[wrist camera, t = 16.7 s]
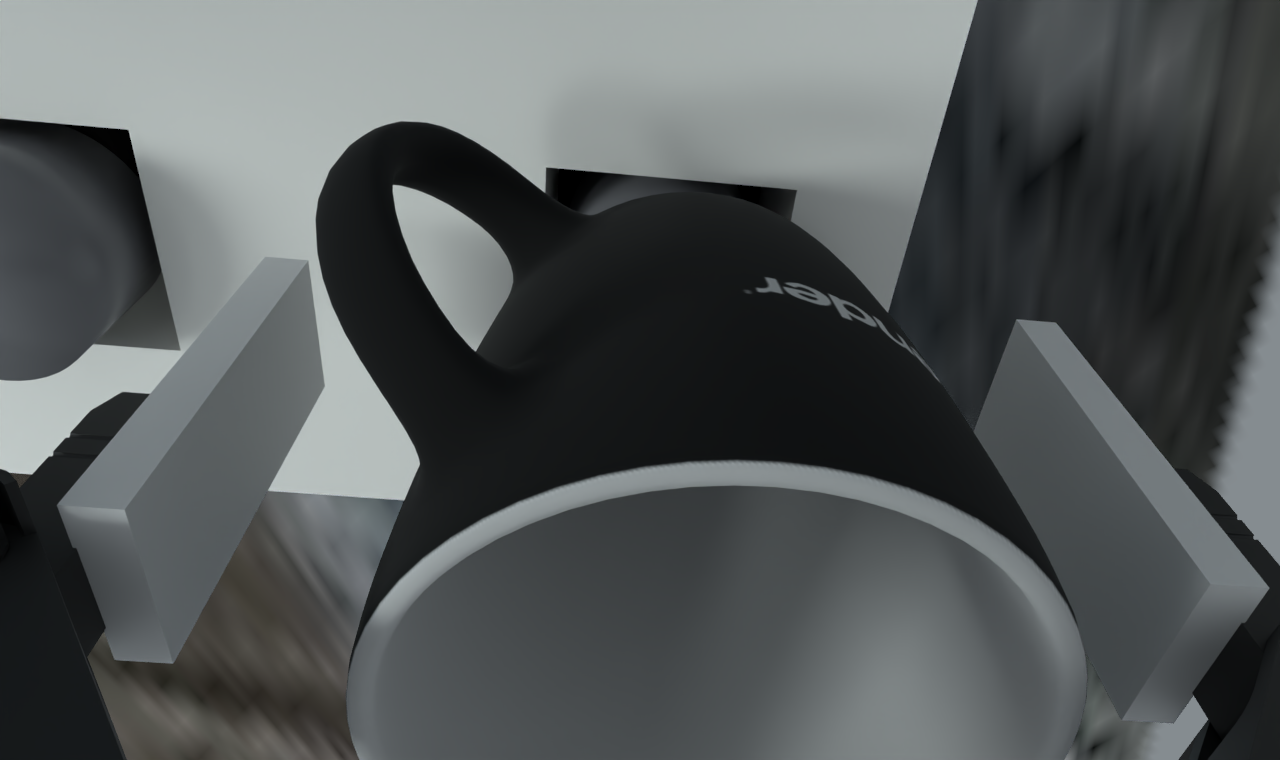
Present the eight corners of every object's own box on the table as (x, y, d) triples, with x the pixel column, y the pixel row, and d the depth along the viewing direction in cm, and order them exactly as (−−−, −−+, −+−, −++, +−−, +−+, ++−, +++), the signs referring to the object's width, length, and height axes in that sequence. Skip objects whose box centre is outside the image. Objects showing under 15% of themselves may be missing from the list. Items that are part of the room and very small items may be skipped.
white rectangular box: (41, 386, 25) (-53, 477, 21) (-151, -159, 17) (-341, -151, 14) (799, 443, 26) (823, 538, 22) (920, -47, 18) (981, -15, 15)
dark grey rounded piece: (-13, 300, 20) (-108, 371, 17) (-84, 107, 17) (-207, 158, 15) (184, 316, 20) (118, 389, 17) (141, 127, 18) (57, 180, 15)
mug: (962, 354, 19) (1211, 779, 11) (650, 539, 22) (655, 980, 14) (617, -127, 14) (582, -32, 6) (275, 200, 17) (-73, 573, 9)
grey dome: (563, 301, 22) (553, 364, 20) (571, 133, 20) (561, 180, 17) (732, 316, 22) (744, 380, 20) (761, 150, 20) (778, 199, 17)
